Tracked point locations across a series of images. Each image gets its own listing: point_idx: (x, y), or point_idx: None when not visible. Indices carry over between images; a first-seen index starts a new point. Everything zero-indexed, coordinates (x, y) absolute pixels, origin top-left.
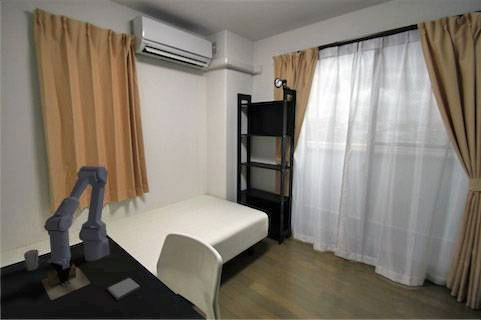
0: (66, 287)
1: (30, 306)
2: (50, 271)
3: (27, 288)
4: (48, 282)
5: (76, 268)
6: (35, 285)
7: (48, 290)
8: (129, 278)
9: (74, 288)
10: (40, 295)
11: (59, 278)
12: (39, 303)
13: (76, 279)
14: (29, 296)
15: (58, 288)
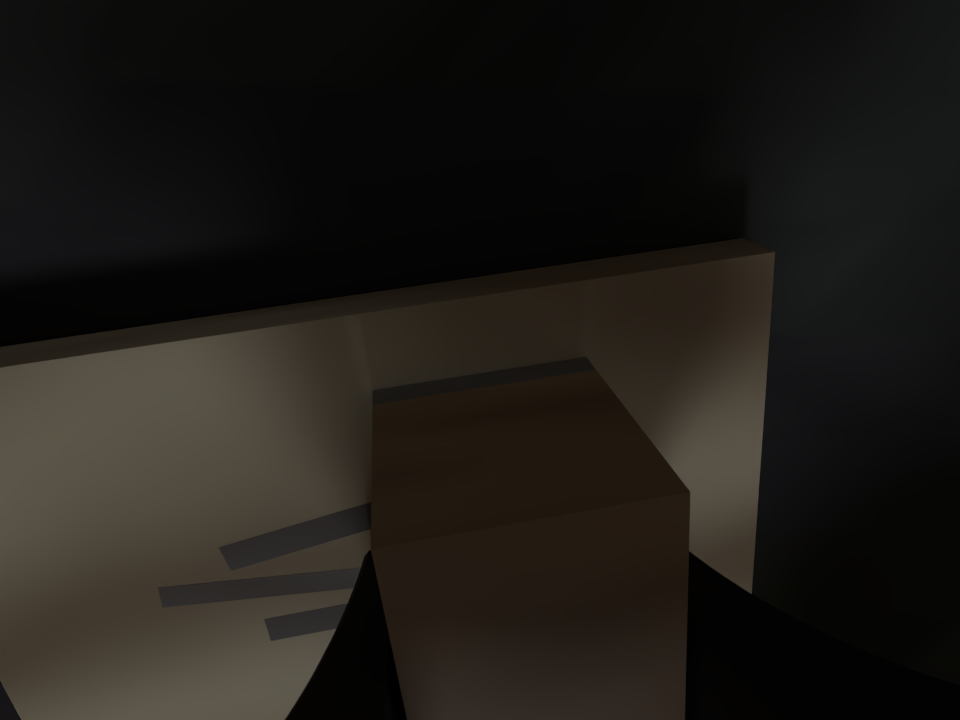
0: (187, 594)
1: (4, 42)
2: (649, 552)
3: (776, 14)
4: (569, 367)
5: None
6: (767, 146)
7: (281, 356)
8: None
9: (64, 688)
10: (322, 213)
11: (349, 611)
12: (24, 192)
13: None
14: (428, 38)
15: (242, 494)
